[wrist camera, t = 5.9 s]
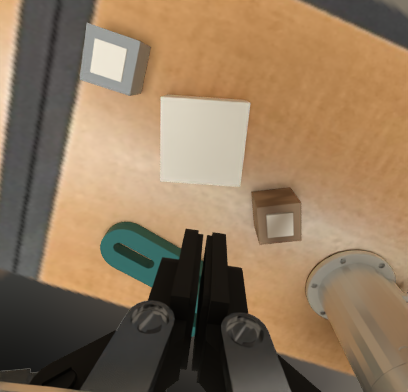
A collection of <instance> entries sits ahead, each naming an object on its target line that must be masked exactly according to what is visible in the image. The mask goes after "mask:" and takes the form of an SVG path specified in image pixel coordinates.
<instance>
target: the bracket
mask: <svg viewBox="0 0 408 392" xmlns="http://www.w3.org/2000/svg"><path fill="white" fill-rule="evenodd" d="M120 243H122V244H124V245H126V246H127V247H129V248H131V249H133V250H135V251H137V252H138V253H140V254H142V255H144V256H146V257H148V258H149V259H147V258H146V257H144V256H142V255H140V254H138V253H136V252H135V251H133V250H131V249H129V248H127V247H125V246H124V245H122V244H120ZM100 250H101V254H102V256H103V258H104V260H105V261H106V262H107V263H108V264H109V265H111V266H112V267H114V268H116V269H118V270H120V271H121V272H123V273H125V274H127V275H129V276H131V277H133V278H135V279H137V280H139V281H141V282H143V283H144V284H146V285H148V286H150V287H152V286H153V283H154V280H155V277H156V274H157V271H158V268H159V265H160V262H161V259H162V257H165V258H172V259H179V257H180V252H181V248H179V247H177V246H175V245H173V244H172V243H170V242H168V241H166V240H165V239H163V238H161V237H159V236H158V235H156V234H154V233H152V232H151V231H149V230H147V229H145V228H144V227H142V226H140V225H138V224H135V223H132V222H121V223H117V224H115V225H114V226H112V227H111V228H110V229H109V230H108V232H107V233H106V235H105V236H104V238H103V239H102V241H101V245H100ZM150 259H151V260H150ZM202 267H203V261H202V260H201V263H200V273H199V284H198V294H197V302H196V309H195V316H194V323H193V329H192V336H195V327H196V316H197V305H198V295H199V287H200V280H201V273H202ZM192 336H191V337H192Z"/></svg>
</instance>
